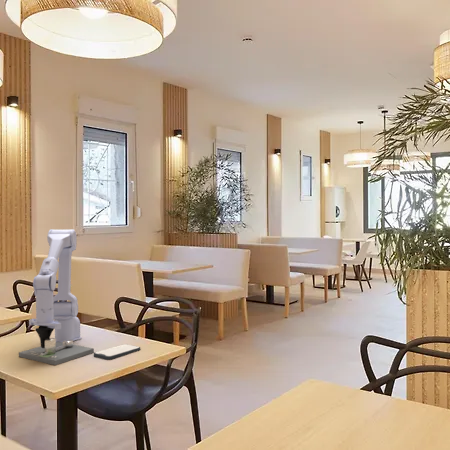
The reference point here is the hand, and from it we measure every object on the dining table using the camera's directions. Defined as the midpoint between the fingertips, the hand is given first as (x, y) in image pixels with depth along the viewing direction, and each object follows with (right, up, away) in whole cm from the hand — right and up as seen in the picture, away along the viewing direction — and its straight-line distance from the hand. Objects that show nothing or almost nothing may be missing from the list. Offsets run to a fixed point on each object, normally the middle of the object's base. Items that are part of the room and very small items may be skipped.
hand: (45, 347), depth 171 cm
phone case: (+24, -4, +5) cm, 25 cm away
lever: (+4, -1, +2) cm, 4 cm away
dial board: (+3, -3, +3) cm, 5 cm away
